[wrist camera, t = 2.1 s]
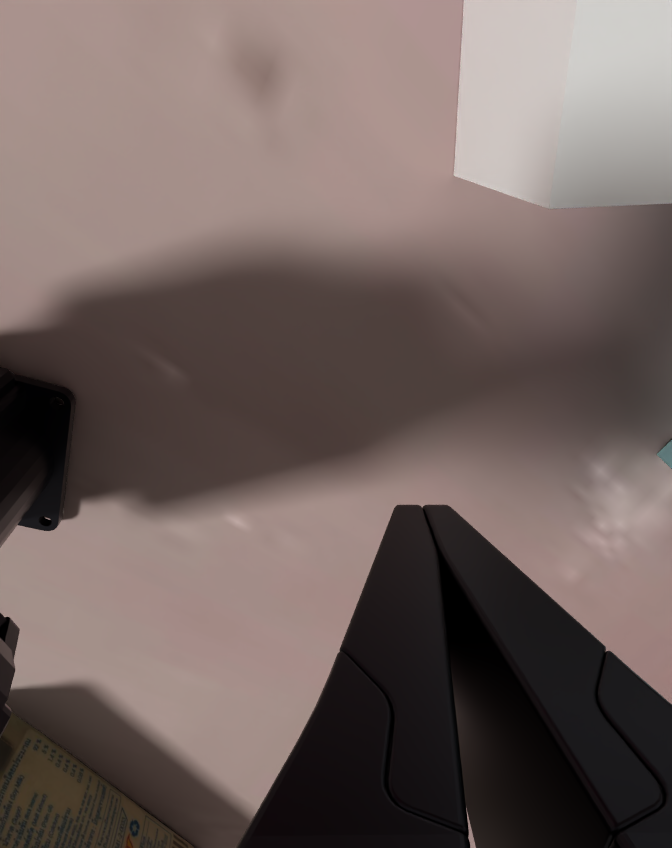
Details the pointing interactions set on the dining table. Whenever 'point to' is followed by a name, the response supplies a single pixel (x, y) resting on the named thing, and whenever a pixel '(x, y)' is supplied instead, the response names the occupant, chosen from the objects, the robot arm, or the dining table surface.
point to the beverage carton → (66, 800)
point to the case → (567, 101)
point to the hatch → (666, 454)
